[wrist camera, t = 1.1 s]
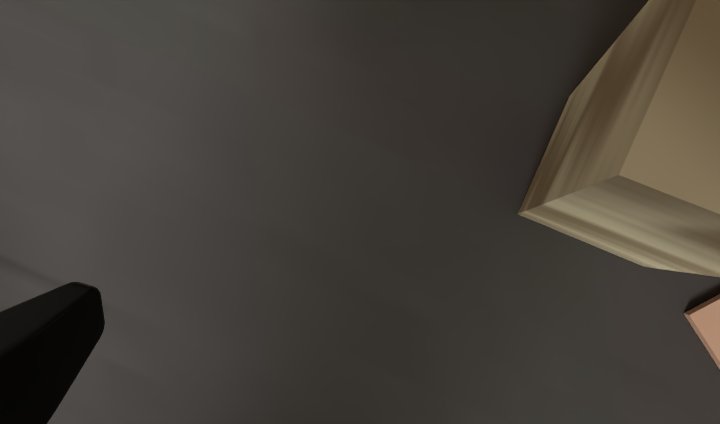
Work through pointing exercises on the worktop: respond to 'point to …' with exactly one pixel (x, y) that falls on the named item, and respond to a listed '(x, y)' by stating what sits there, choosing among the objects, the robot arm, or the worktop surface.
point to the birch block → (642, 145)
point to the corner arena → (707, 325)
